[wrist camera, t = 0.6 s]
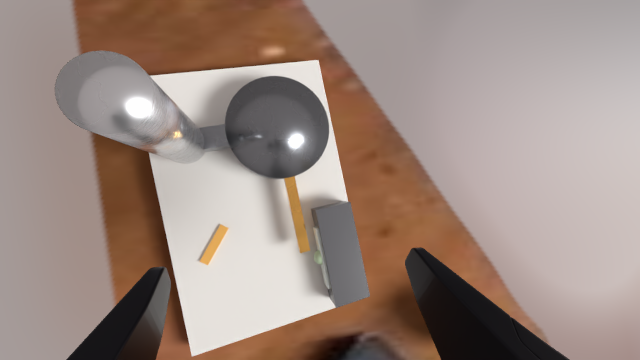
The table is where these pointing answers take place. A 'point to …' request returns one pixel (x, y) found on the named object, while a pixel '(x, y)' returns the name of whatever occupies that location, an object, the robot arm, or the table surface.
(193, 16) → the table surface
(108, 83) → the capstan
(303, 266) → the stand
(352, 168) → the table surface
